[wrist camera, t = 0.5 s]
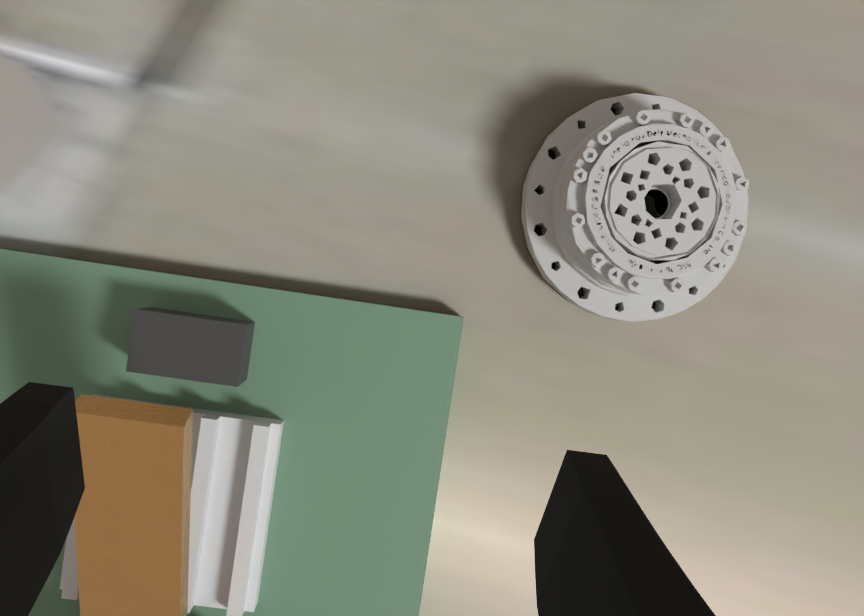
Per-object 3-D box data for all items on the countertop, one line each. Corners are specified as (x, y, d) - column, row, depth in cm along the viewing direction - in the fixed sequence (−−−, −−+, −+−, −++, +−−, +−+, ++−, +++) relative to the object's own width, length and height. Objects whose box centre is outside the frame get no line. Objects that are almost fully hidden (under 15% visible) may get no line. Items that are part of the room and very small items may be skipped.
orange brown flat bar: (189, 682, 32) (179, 713, 30) (94, 671, 31) (80, 702, 30) (197, 405, 26) (185, 431, 24) (80, 390, 25) (62, 414, 24)
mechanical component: (595, 57, 35) (477, 243, 35) (626, 25, 31) (491, 239, 31) (774, 178, 36) (658, 360, 36) (829, 164, 31) (697, 372, 31)
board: (401, 706, 35) (405, 781, 30) (-97, 650, 34) (-186, 718, 29) (460, 315, 35) (474, 322, 30) (-43, 241, 33) (-124, 234, 28)
